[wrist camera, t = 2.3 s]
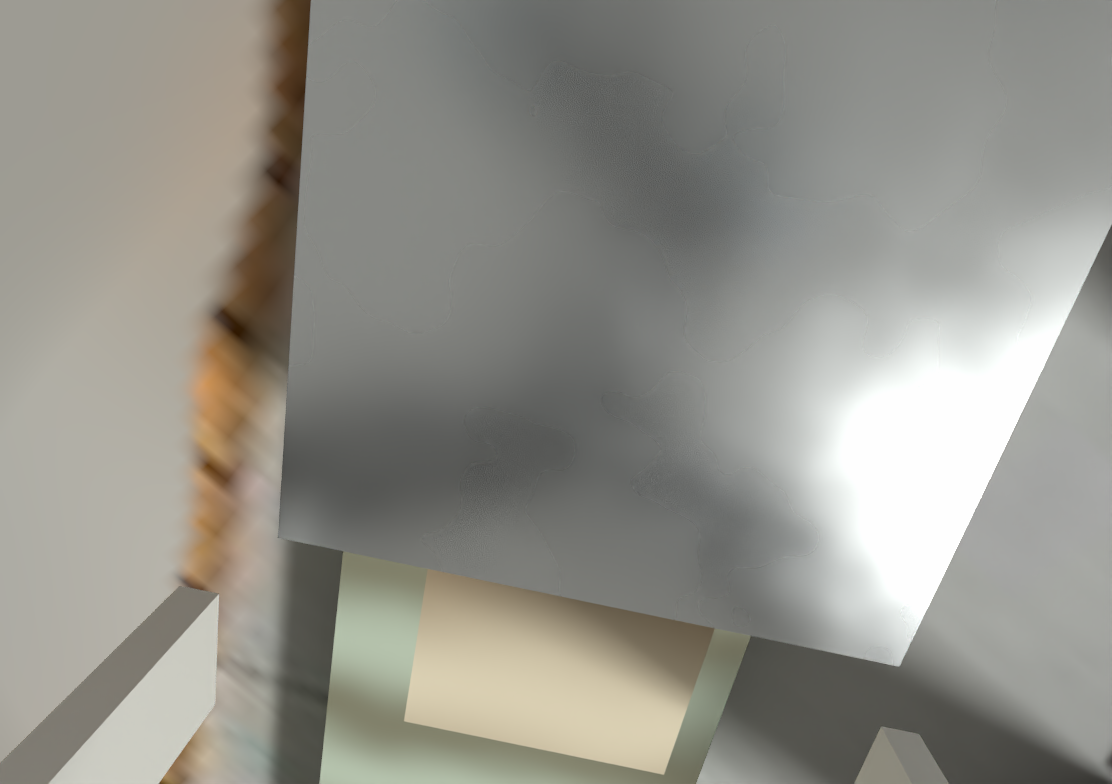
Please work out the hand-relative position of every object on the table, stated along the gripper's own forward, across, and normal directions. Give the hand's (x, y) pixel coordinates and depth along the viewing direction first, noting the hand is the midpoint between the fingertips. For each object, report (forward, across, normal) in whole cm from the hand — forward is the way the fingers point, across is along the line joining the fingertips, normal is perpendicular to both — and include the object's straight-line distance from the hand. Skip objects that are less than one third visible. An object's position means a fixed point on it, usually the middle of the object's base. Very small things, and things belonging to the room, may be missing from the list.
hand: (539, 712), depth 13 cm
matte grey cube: (+8, 0, +9) cm, 12 cm away
